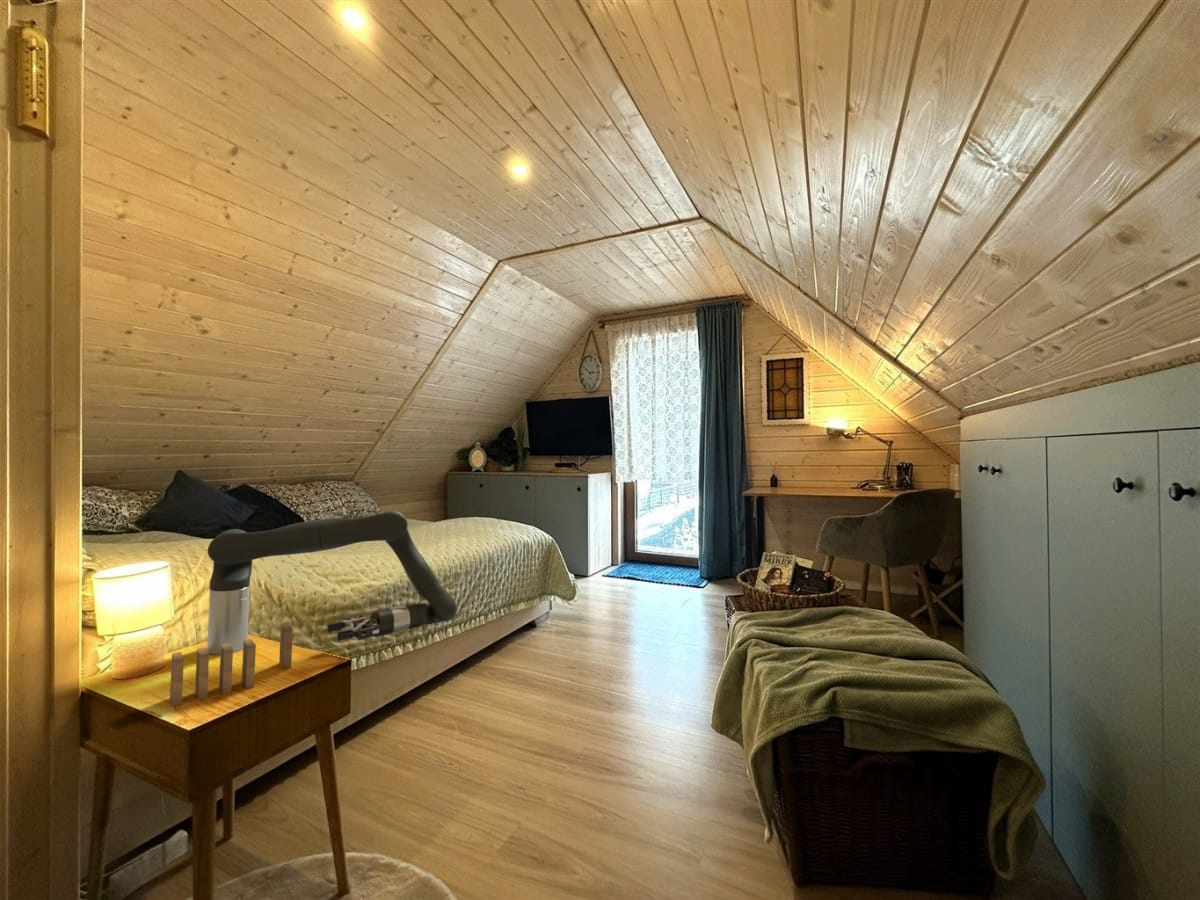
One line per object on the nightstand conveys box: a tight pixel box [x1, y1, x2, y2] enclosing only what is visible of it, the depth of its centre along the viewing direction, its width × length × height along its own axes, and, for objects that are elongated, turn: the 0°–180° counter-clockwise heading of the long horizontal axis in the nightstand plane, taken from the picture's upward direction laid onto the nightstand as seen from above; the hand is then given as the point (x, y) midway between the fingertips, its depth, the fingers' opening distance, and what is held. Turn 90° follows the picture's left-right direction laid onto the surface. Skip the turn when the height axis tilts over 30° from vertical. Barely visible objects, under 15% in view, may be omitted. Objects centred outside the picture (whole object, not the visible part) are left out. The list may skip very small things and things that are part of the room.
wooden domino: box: [194, 646, 210, 701], centre depth 120 cm, size 5×2×10 cm, turn 44°
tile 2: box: [241, 638, 257, 690], centre depth 126 cm, size 5×2×10 cm, turn 44°
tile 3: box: [218, 643, 234, 695], centre depth 123 cm, size 5×2×10 cm, turn 44°
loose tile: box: [278, 623, 294, 669], centre depth 138 cm, size 5×2×10 cm, turn 44°
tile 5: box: [169, 651, 185, 707], centre depth 117 cm, size 5×2×10 cm, turn 44°
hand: (332, 632), depth 146 cm, fingers open, 8 cm apart
